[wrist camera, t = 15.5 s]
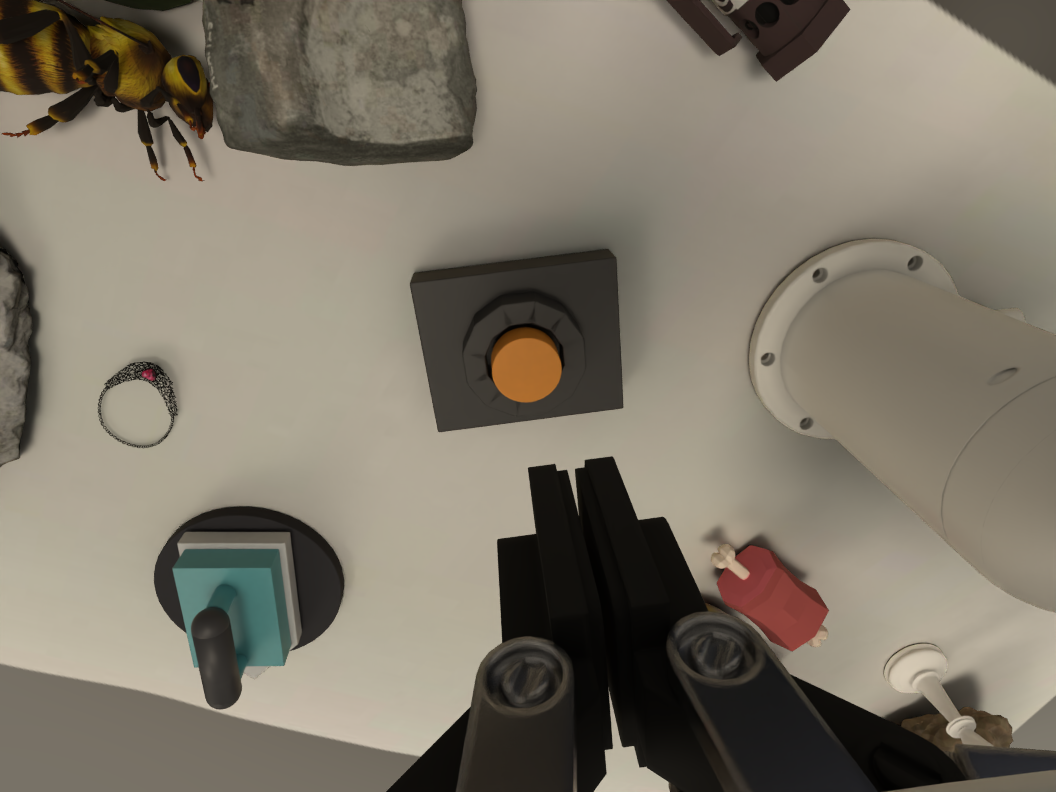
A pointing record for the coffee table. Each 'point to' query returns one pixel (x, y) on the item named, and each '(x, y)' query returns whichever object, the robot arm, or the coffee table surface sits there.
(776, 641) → the meat
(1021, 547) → the robot arm
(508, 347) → the button
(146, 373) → the ring
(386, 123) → the stone
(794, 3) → the brown perforated bar
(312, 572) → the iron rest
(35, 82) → the insect
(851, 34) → the coffee table surface
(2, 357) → the fossil stone
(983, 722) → the stone
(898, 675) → the chess piece
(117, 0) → the wine bottle
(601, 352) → the switch block
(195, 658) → the iron
